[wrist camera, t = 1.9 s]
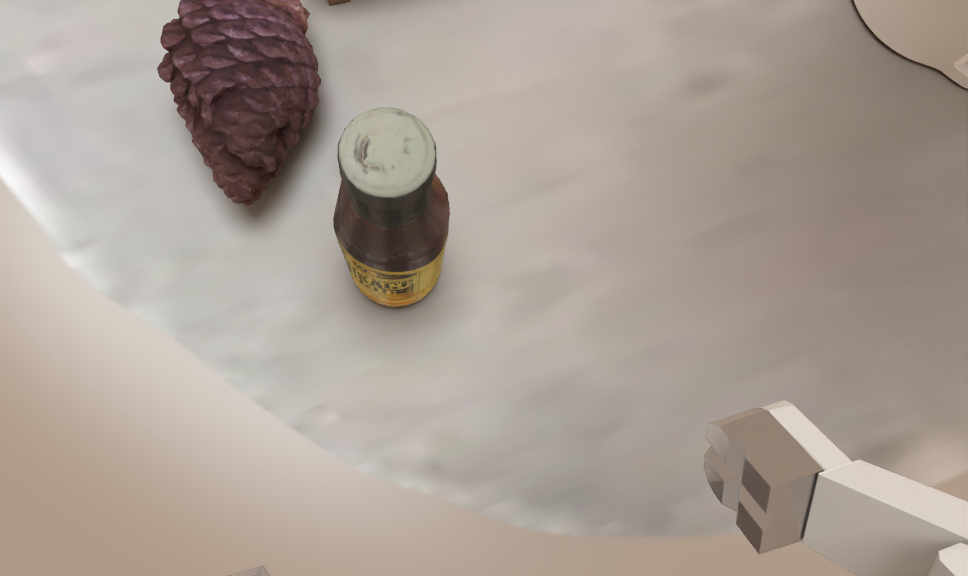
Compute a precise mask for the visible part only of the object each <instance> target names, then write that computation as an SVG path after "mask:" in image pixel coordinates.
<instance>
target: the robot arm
mask: <svg viewBox="0 0 968 576" xmlns="http://www.w3.org/2000/svg"><path fill="white" fill-rule="evenodd" d="M854 3H855V5H856V7H857V9H858V11H859V13H860V15H861V17H862V18H863V20H864V21H865V23H866V24H867V26H868V27H869V28H870V29H871V31H872V32H873V33H874V34H875V35H876V36H877V37H878V38H879V39H880V40H881V41H882V42H884V43H885V44H886V45H887V46H889V47H890V48H891V49H893V50H894V51H896V52H898V53H899V54H901V55H903V56H905V57H907V58H909V59H911V60H913V61H916V62H919V63H922V64H925V65H928V66H931V67H933V68H936V69H938V70H940V71H942V72H943V73H944V74H945V75H947V76H948V77H949V78H951V79H952V80H953V81H955V82H956V83H958V84H959V85H961V86H962V87H964V88H967V89H968V0H854ZM706 439H707V440H708V442H709V443H710V444H711V445H712V446H711V447H710V448H709V450H708V451H707V452H706V454H705V455H704V469H705V473H706V476H707V480H708V483H709V484H710V486H711V488H712V490H713V492H714V494H715V495H716V497H717V498H718V499H719V501H720V502H721V504H723V505H725V506H727V507H729V508H731V509H733V510H735V511H737V515H736V524H737V525H738V527H739V528H740V529H741V531H742V532H743V534H744V535H745V536H746V538H747V539H748V540H749V541H750V543H751V544H752V545H753V547H754V548H755V549H756V551H757V552H758V554H762V553H765V552H768V551H771V550H774V549H777V548H780V547H783V546H787V545H790V544H793V543H796V542H799V541H802V540H803V542H802V543H803V544H805V545H806V546H808V547H809V548H811V549H813V550H814V551H816V552H818V553H819V554H821V555H823V556H824V557H826V558H828V559H829V560H831V561H833V562H834V563H836V564H838V565H839V566H841V567H843V568H844V569H846V570H848V571H849V572H851V573H853V574H854V575H856V576H968V502H967V501H964V500H962V499H959V498H957V497H954V496H952V495H949V494H946V493H944V492H941V491H939V490H936V489H934V488H931V487H929V486H926V485H924V484H921V483H918V482H916V481H913V480H911V479H908V478H906V477H903V476H901V475H898V474H895V473H893V472H890V471H888V470H885V469H883V468H880V467H877V466H875V465H872V464H870V463H867V462H865V461H862V460H856V461H853V462H852V461H851V460H850V459H849V458H848V457H847V456H846V455H845V454H844V453H843V452H842V451H841V450H840V449H839V448H838V447H836V446H835V445H834V444H833V443H832V442H831V441H830V440H829V439H828V438H827V437H826V436H825V435H824V434H823V433H822V432H821V431H820V430H819V429H818V428H817V427H816V426H815V425H814V424H813V423H812V422H810V421H809V420H808V419H807V418H806V417H805V416H804V415H803V414H802V413H801V412H800V411H799V410H798V409H797V408H796V407H795V406H794V405H793V404H792V403H790V402H788V401H785V400H783V401H779V402H776V403H773V404H770V405H767V406H764V407H760V408H755V409H752V410H749V411H746V412H743V413H740V414H737V415H734V416H731V417H728V418H725V419H722V420H719V421H716V422H713V423H710V425H709V426H708V428H707V432H706ZM230 576H270V575H269V573H268V572H267V570H266V569H265V567H264V566H261V567H257V568H254V569H250V570H247V571H243V572H240V573H236V574H233V575H230Z"/></svg>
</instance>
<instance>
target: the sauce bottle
mask: <svg viewBox="0 0 968 576" xmlns="http://www.w3.org/2000/svg"><path fill="white" fill-rule="evenodd" d="M338 162H339V168H340V175H341V178H342V181H341V186H340V190H339V195H338V199H337V204H336V208H335V213H334V229H335V233H336V236H337V239H338V242H339V245H340V247H341V250H342V252H343V255H344V258H345V260H346V262H347V265H348V267H349V270H350V273H351V275H352V278H353V280H354V282H355V284H356V285H357V287H358V288H359V289H360V291H361V292H362V293H363V294H364V295H366V296H367V297H368V298H369V299H371V300H372V301H374V302H377V303H379V304H382V305H386V306H392V307H405V306H407V305H410V304H412V303H415V302H417V301H419V300H420V299H422V298H423V297H425V296H426V295H427V294H428V293H429V292H430V291H431V290H432V288H433V287H434V285H435V284H436V282H437V280H438V277H439V275H440V272H441V266H442V260H443V255H444V250H445V245H446V241H447V236H448V227H449V226H448V224H449V216H450V212H449V209H450V208H449V201H448V194H447V192H446V191H445V188H444V186H443V184H442V183H441V181H440V179H439V178H438V177H437V175H436V174H435V170H436V162H437V160H436V146H435V142H434V140H433V138H432V135H431V133H430V132H429V130H428V128H427V127H426V126H425V125H424V124H423V122H421V121H420V120H419V119H418V118H416V117H415V116H413V115H411V114H409V113H407V112H405V111H403V110H400V109H395V108H379V109H375V110H370V111H368V112H365V113H362V114H360V115H359V116H358V117H356V118H355V119H353V120H352V121H351V122H350V124H349V125H348V126H347V127H346V128H345V129H344V132H343V134H342V136H341V138H340V140H339V143H338Z"/></svg>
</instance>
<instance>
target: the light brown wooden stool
mask: <svg viewBox="0 0 968 576" xmlns="http://www.w3.org/2000/svg"><path fill="white" fill-rule="evenodd" d="M328 1H329V5H334V4H340V3H345V2H350V0H328Z"/></svg>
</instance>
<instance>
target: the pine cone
mask: <svg viewBox="0 0 968 576" xmlns="http://www.w3.org/2000/svg"><path fill="white" fill-rule="evenodd" d="M178 14H179V16H180V17H179V19H173V20H172V21H171V22H170V23H167V24H166V25H164V26H163V31H162V35H161V44H162V46H163V48H164V49H166V50H167V51H169V53H166V54H165V56H164V58H163V61H162V63H160V65H159V66H158V68H157V69H158V73H159V76H160V78H162V79H163V80H164V81H165V82H172V83H171V84H170V90H171V91H172V93H173V94H174V95H175V96H174V102H175V103H177V104H178V105H179V106H178V107H177V111H178V113H179V114H180V116H181V117H182V118H183V119H185V120H186V127H187V128H188V130H189V131H190V132H191V134H192V137H193V140H192V142H193V143H194V144H195V146H196V148H198V150H199V151H200V152H201V154H202V156H203V159H204V164H206V165H207V166H208V167H210V168H211V169H212V170H213V179H214V182H216V183H217V184H218V186H219V187H220V188H222V189H224V193H225V195H226V196H227V197H228V198H232V200H233V202H236V203H239V204H240V203H241V202H243V204H244V205H246V206H250V205H252V204H253V202H254V201H256V200H258V199H259V198H260V197H261V195H262V191H263V189H266V188H268V186H269V184H270V180H271V179H273V178H275V177H277V176H278V175H279V172H280V168H282V167H283V166H284V165H285V161H286V157H287V153H288V150H289V149H290V148H292V146H294V145H296V144H298V141H299V135H300V134H301V129H302V128H304V127H306V126H308V124H309V122H310V121H311V115H312V112H313V110H314V109H315V108H316V106H317V105H318V103H319V98H318V95H317V92H318V87H319V85H320V83H321V78H320V77H319V75H318V73H317V70H318V63H317V59H316V56H315V55H314V53H313V48H312V45H311V44H310V43H309V41H308V39H307V38H306V37H305V33H306V31H307V29H308V25H307V19H308V17H309V15H310V13H309V12H308V11H307V10H306V8H304V7H302V5H301V3H300V1H299V0H181V1H180V3H179V8H178Z"/></svg>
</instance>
